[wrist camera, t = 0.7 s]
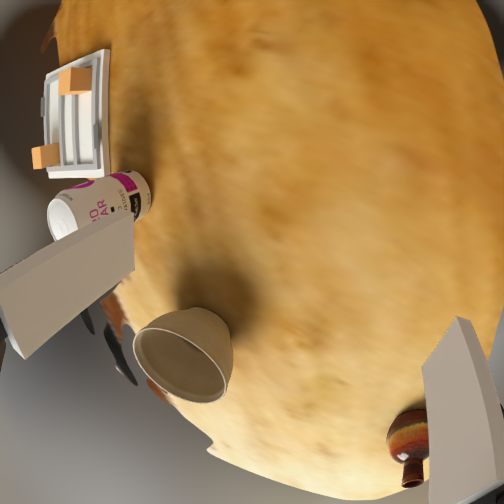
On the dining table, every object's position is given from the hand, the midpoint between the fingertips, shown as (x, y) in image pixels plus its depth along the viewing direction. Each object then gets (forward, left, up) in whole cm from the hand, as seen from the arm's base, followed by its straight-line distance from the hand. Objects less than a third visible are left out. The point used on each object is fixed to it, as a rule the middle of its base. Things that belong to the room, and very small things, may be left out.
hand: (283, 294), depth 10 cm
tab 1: (-3, -48, -25) cm, 55 cm away
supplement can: (+5, -29, -27) cm, 40 cm away
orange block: (-15, -38, -25) cm, 48 cm away
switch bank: (-9, -43, -26) cm, 52 cm away
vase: (+43, +26, -27) cm, 57 cm away
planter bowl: (+28, -17, -27) cm, 42 cm away
